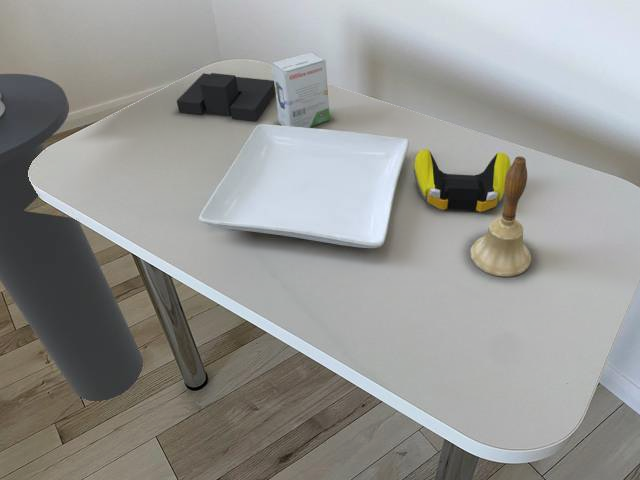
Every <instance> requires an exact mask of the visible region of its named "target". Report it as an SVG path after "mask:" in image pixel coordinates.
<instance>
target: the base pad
mask: <svg viewBox="0 0 640 480" xmlns="http://www.w3.org/2000/svg"><path fill="white" fill-rule="evenodd" d="M210 74H211V73H205V72H204V73H202V74H201V75H200V76H199V77H198V78H197V79H196V80H195V81H194V82H193V83H192V84H191V85H190V86H189V87H188V88H187V89H186V90H185V91H184V93H182V95H180V97H179V98H177V100H176V105H177V108H178V112H179V114H189V115H198V116H203V115H204V114H205V112H206V108H205V103H204V99H203V94H202V90H201V84H202V82H203V81H204V80H205V79H206V78H207V77H208V76H209V75H210ZM236 81H237V87H238V93H239V97H238V98H237V99H236V100H235V101H234V103H233V104H232V105H231V106H230V110H231V119H233V120H240V121H248V122H257V121H258V119H259V118H260V117H261V116H262V114H263V113H264V111H265V110H266V109H267V108H268V106H269V104H270V103H271V101H272V100H273V99H274V98H275V97H276V92H275V84H274V79H273V80H272V79H263V78H262V79H261V78H252V77H244V76H243V77H242V76H236Z"/></svg>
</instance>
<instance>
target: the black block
mask: <svg viewBox="0 0 640 480" xmlns="http://www.w3.org/2000/svg"><path fill="white" fill-rule="evenodd" d="M209 74H210V75H209V76H208V77H207V78H206V79H205V80H204V81H203V82H202V84H201V90H202V94H203V99H204V103H205V108H206V111H205V112H206V114H207V115H217V116H224V117H232V115H231V110H230V106H231V105H232V104H233V103H234V101H235V100H236V99H237V98H238V97H239V93H238V87H237V81H236V77H237V76H236V75H234V74H225V73H216V72H211V73H209Z"/></svg>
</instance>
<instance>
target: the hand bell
mask: <svg viewBox="0 0 640 480" xmlns="http://www.w3.org/2000/svg"><path fill="white" fill-rule="evenodd" d="M526 161H527V160H526V158H525V157H523V156H516V157H515V158H514V160H513V162H512V163H511V167H510V168H509V170H508V172H507V175H506V178H505V185H504V191H505V193H504V196H505V200H504V201H505V202H504V205H503V208H502V214H501V216H500V217H496V218H494V219H493V220H492V221H490V223H489V225H488V229H487V231H486V233H485V235H483V236H481V237H479V238H478V239H476V240H475V242H473V244H472V245H471V247H470V251H469V256H470V258H471V262H473V264H474V265H475V266H476V267H477V268H478V269H479V270H481V271H482V272H484V273H486V274H489V275H492V276H496V277H501V278H502V277H504V278H511V277H514V276H518V275H521V274H523V273H524V272H526V271H527V270H528V269H529V267H530V266H531V263H532V255H531V252H530V250H529V248H528V246H527V245H526V244H525V243H524V227H523V225H522V224H521V222H520V221H518V220H517V219H516V214H517V208H518V203H519V200H520V199H521V198H522V195H523V194H524V192H525V190H526V187H527V182H528V169H527V163H526Z"/></svg>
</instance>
